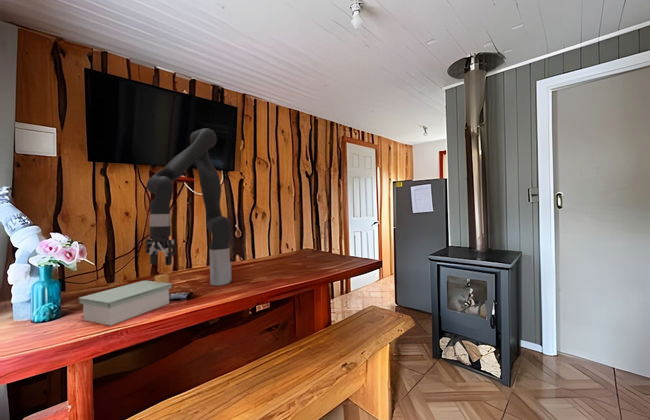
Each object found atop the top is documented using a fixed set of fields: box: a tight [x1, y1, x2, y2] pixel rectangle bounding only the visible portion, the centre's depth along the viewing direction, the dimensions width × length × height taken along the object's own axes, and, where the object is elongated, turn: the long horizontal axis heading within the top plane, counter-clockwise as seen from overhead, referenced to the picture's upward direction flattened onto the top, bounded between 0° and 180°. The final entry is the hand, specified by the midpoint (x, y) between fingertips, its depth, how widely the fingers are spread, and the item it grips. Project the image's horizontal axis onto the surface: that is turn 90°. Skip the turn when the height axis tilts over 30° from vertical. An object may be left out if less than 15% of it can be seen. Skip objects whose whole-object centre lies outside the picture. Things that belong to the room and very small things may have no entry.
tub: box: [82, 289, 170, 326], centre depth 101 cm, size 21×14×7 cm, turn 159°
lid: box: [78, 273, 173, 308], centre depth 102 cm, size 27×16×4 cm, turn 159°
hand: (160, 264), depth 113 cm, fingers open, 8 cm apart
